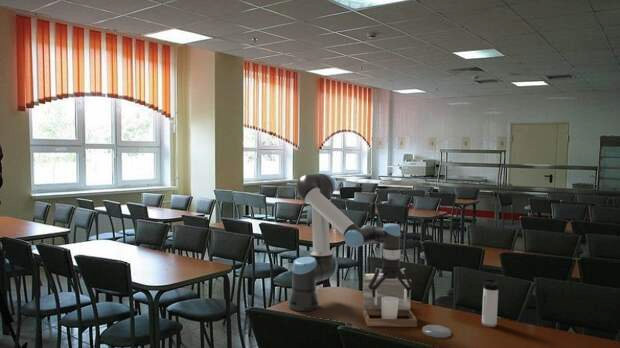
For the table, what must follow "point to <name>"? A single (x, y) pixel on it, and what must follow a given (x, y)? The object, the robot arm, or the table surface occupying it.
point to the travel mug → (490, 303)
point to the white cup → (389, 307)
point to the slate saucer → (436, 331)
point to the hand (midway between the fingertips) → (390, 304)
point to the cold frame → (369, 307)
